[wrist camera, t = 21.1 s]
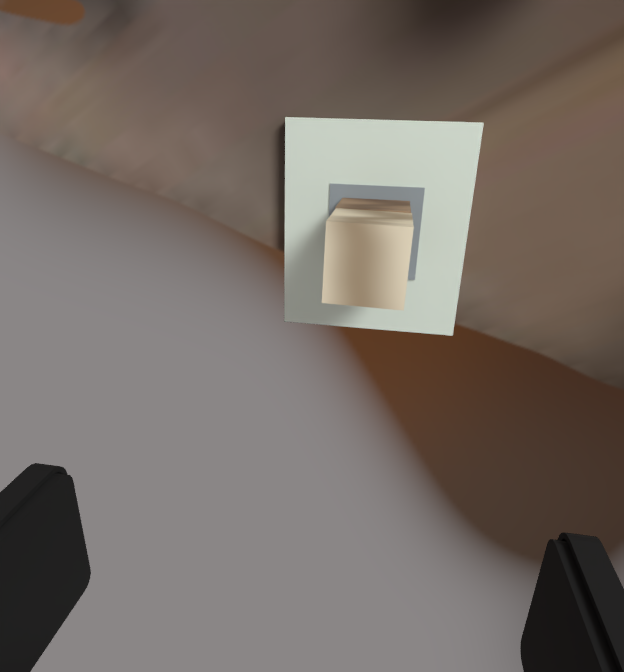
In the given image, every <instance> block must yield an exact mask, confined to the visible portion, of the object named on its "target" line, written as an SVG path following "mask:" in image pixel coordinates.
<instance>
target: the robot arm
mask: <svg viewBox="0 0 624 672" xmlns="http://www.w3.org/2000/svg"><path fill="white" fill-rule="evenodd" d="M90 574H91V572H90V565H89V560H88V555H87V549H86V544H85V539H84V534H83V529H82V524H81V519H80V513H79V509H78V503H77V498H76V493H75V488H74V483H73V479H72V477H71V476H70V475H67V472H66V470H65V469H64V468H63V467H60V466H53V465H45V464H37V463H35V464H32V465H30V466H29V467H27V468H26V469H25V470H24V471H23V472H22V473H21V474H20V475H19V476H18V477H16V478H15V479H14V480H13V481H12V482H11V483H10V484H9V485H8V486H7V487H6V488H5V489H4V490H2V491H1V492H0V672H30V671H31V670H32V668H33V667H34V665H35V664H36V662H37V661H38V659H39V657H40V656H41V655H42V653H43V652H44V650H45V649H46V647H47V646H48V644H49V643H50V642H51V640H52V638H53V637H54V635H55V634H56V633H57V631H58V629H59V628H60V627H61V625H62V624H63V622H64V621H65V619H66V618H67V616H68V615H69V613H70V612H71V610H72V609H73V607H74V606H75V604H76V603H77V601H78V600H79V599H80V597H81V596H82V594H83V592H84V591H85V589H86V588H87V585H88V583H89V579H90ZM521 660H522V665H523V670H524V672H624V589H623V587H622V585H621V582H620V580H619V578H618V577H617V574H616V572H615V570H614V568H613V566H612V564H611V562H610V559H609V557H608V555H607V553H606V551H605V549H604V547H603V545H602V543H601V541H600V540H599V539H598V538H597V537H594V536H587V535H579V534H571V533H561V534H560V535H559V538H558V540H553V539H550V540H549V542H548V544H547V547H546V551H545V555H544V558H543V562H542V565H541V569H540V573H539V576H538V580H537V584H536V588H535V591H534V595H533V598H532V602H531V606H530V609H529V613H528V617H527V620H526V624H525V628H524V631H523V635H522V639H521Z"/></svg>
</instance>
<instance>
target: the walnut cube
mask: <svg viewBox="0 0 624 672" xmlns="http://www.w3.org/2000/svg"><path fill="white" fill-rule="evenodd" d="M336 208H344V209H359V210H373V211H388V212H403V213H411V207H410V201H401V200H380V199H360V198H342V199H341V201H340V202H339V203H338V204H337V206H336V207H335V209H336Z"/></svg>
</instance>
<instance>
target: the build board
mask: <svg viewBox="0 0 624 672" xmlns="http://www.w3.org/2000/svg"><path fill="white" fill-rule="evenodd" d="M483 124H484V123H476V122H440V121H404V120H368V119H332V118H296V117H285V271H284V272H285V273H284V277H285V278H284V281H285V282H284V322H296V323H307V324H319V325H332V326H344V327H355V328H367V329H380V330H391V331H403V332H415V333H427V334H439V335H451V336H452V335H453V329H454V323H455V316H456V309H457V302H458V295H459V288H460V281H461V275H462V268H463V261H464V254H465V247H466V240H467V233H468V227H469V220H470V213H471V206H472V199H473V192H474V186H475V179H476V172H477V165H478V158H479V151H480V144H481V138H482V131H483ZM342 198H360V199H380V200H401V201H410V207H411V213H412V217H413V225H414V230H413V238H412V247H411V255H410V263H409V271H408V280H407V288H406V296H405V304H404V311H403V310H392V309H381V308H370V307H360V306H349V305H338V304H328V303H322V289H323V270H324V251H325V232H326V221H327V219H328V218H329V217H330V215H331V214H332V213H333V211H334V210H335V207H336V206H337V204H338V203H339V202H340V201H341V199H342Z"/></svg>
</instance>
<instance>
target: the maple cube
mask: <svg viewBox="0 0 624 672" xmlns="http://www.w3.org/2000/svg"><path fill="white" fill-rule="evenodd" d="M413 230H414V225H413V217H412V213H403V212H388V211H373V210H359V209H344V208H336V209H335V210H334V211H333V213H332V214H331V215H330V217H329V218H328V219H327V221H326V232H325V251H324V270H323V289H322V303H328V304H338V305H349V306H360V307H370V308H381V309H392V310H403V311H404V304H405V296H406V288H407V280H408V271H409V263H410V255H411V247H412V238H413Z"/></svg>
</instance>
